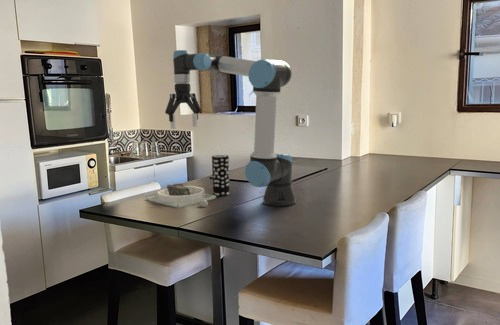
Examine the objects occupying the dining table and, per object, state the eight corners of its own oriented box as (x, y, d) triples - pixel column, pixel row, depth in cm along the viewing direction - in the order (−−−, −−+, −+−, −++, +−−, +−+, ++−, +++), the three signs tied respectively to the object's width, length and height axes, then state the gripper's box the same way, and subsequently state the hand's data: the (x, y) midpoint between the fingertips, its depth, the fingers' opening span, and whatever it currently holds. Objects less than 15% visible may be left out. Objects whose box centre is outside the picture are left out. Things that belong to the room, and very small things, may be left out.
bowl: (214, 198, 223) (213, 190, 222) (177, 207, 207) (177, 198, 206) (184, 192, 238) (184, 184, 237) (149, 200, 222) (148, 191, 221)
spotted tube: (214, 198, 226) (213, 157, 223) (211, 194, 234) (210, 155, 231) (231, 196, 228) (230, 156, 225) (227, 193, 236) (226, 154, 233)
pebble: (206, 197, 209) (210, 204, 209) (200, 201, 210) (204, 208, 210) (203, 199, 205) (207, 206, 205) (197, 202, 207) (200, 209, 206)
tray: (216, 199, 223) (216, 195, 223) (177, 209, 206) (177, 205, 206) (184, 192, 239) (184, 189, 239) (147, 201, 222) (146, 197, 222)
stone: (193, 204, 224) (196, 188, 219) (182, 209, 219) (184, 193, 214) (175, 189, 231) (177, 173, 225) (164, 194, 226) (166, 178, 221)
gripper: (197, 83, 232) (198, 125, 235) (156, 83, 214) (158, 129, 217) (207, 83, 227) (208, 126, 230) (166, 83, 209) (168, 129, 212)
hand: (184, 127), depth 224 cm, fingers open, 13 cm apart
